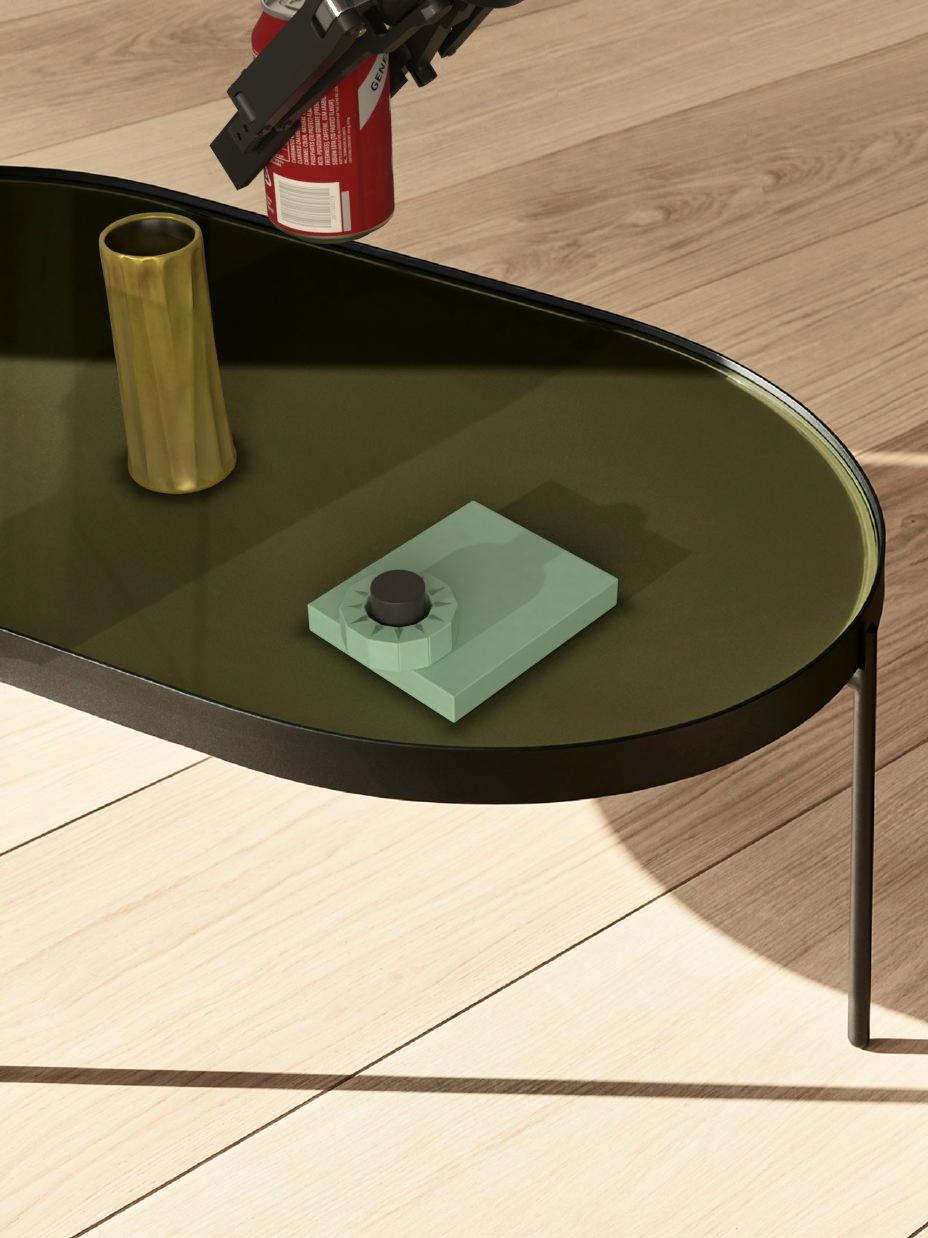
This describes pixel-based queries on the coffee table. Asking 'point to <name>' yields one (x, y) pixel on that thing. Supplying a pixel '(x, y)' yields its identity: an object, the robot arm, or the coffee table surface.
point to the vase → (166, 353)
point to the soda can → (332, 152)
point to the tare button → (398, 598)
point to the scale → (468, 609)
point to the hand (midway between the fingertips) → (282, 142)
